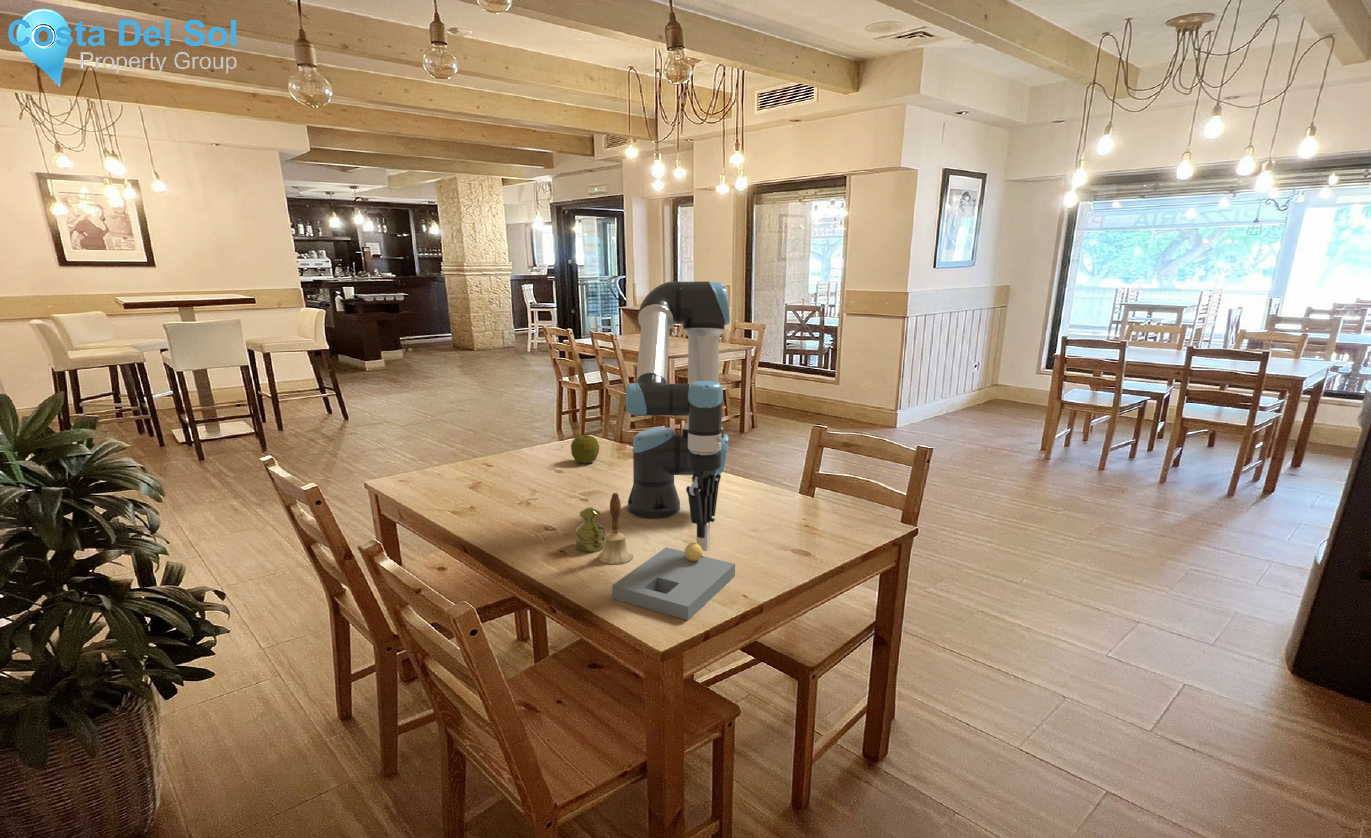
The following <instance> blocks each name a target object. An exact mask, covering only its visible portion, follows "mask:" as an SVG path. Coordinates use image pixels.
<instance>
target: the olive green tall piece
mask: <svg viewBox="0 0 1371 838" xmlns="http://www.w3.org/2000/svg"><path fill="white" fill-rule="evenodd" d="M600 514H601V512H600V510H598V509H597V508H595V507H590V506H588V507H586V508H584V509H582V510H581V511H579V516H580V518H583V520H584V521H583V522H582V523H581V524H580V525H579V526H577V527H576V529H575V531H574V534H575V539H574V541H575V548H576V549H577V550H578V551H581V552H586V553H593V552H597V551H598V552H599V551H601V550H603V549H604V547H605V542H606V536H605V534H606V528H605V527H604V526H603V525H601V524H600V523H599V522H597V520H596V519H597V518H598V517H599V516H600Z"/></svg>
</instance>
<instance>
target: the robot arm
mask: <svg viewBox="0 0 1371 838" xmlns="http://www.w3.org/2000/svg"><path fill="white" fill-rule="evenodd" d="M637 316H638V317H637V320H638V321H637V322H638V324H639V327H640V334H639V335H640V337H639V346H638V347H639V348H638V357H637V358H638V359H637V369H636V381H635V382H634V383H628V384H627V385H626V388H625V409H626V410H625V411H626V412H627V413H628V414H629V415H633V416H643V417H646V416H676V417H677V416H685V417H686V416H687V422H686V423H685V424H684V425H683V426H682V428H681V433H676V432H675V429H674V428H672V427H654V428H648V429H644V430H642V431H639V432H638V433H637V434H636V435H635V436H634V437H633V441H632V444H633V445H632V446H633V447H632V454H633V456H632V457H633V459H632V460H633V462H632V463H633V465H632V466H633V467H632V468H633V469H632V470H633V471H632V472H633V484H632V487H631V491H630V494H629V496H628V500H627V511H628V513H630V514H631V515H633V516H635V517H640V518H646V519H661V518H663V519H664V518H668V517H671V516H674V515H676V514H678V513H679V512H680V510H681V500H680V498H679V494H678V492H677V487H676V484H675V476H692V477H691V481H692V483H691V486H689V485H688V486H686V489H685V490H686V491H685V492H686V494H687V496H688V504H689V505H688V506H689V510H690V519H691V523H692V524H695V525H696V543H697V544H698V545H700V546H701V548H702V551H705V552H707V551H709V550H710V548H711V547H710V546H711V523H714V522H715V520H716V518H715V515H716V510H717V500H718V493H719V485H720V481H721V479H722V476H721V474H723V472H724V470H725V467H726V461H727V457H728V456H727V455H728V448H729V435H728V434H726V433H724V427H723V426H722V424H723V423H722V421H723V420H722V419H723V400H724V396H723V395H724V394H723V386H722V384H721V383H720V382H719V378H720V377H719V376H720V375H719V373H720V372H719V367H720V366H719V365H720V362H719V357H720V337H721V335H722V334H723V333H724V332H725V326H727V325H729V324H730V322H731V318H730V317H731V316H730V304H729V298H728V290H727V287H726V285H725V284H724V283H723V282H718V281H717V282H716V281H710V280H709V281H675V280H674V281H673V280H672V281H668V282H664V283H662V284H659V285H658V286H656V287H655V288H654V287H653V289H652V290H651V291H649V293H648V294H647V295H646V296H645V298H643V300H642V302H641V304H640V306H639V310H638V315H637ZM674 324H677V325H682V330H683V333H684V334H686V336H687V338H688V342H687V343H688V345H687V347H688V348H687V350H688V351H687V356H688V357H687V361H688V362H687V383H668V373H669V372H668V370H669V368H668V367H669V348H670V347H669V346H670V344H669V343H670V342H669V341H670V329H671V328H672V326H673V325H674Z"/></svg>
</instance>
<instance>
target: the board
mask: <svg viewBox="0 0 1371 838" xmlns="http://www.w3.org/2000/svg"><path fill="white" fill-rule="evenodd" d="M735 577H736V563H733V562H730V561H725V560H720V559H717V558H712V557H708V556H705V555H704V556H703V555H702V556H701V558H700V559H699V560H697V561H691V560H689V559H687V557H686V556H685V550H684V551H682V550H680V549H675V548H671V547H664V548H662V550H660V551H658V552H657V553H655V554H654V555H653V556H652V557H650V558H649V559H647V560H646V561H644V562H643V563H642V564H640V565H639V566H637V567H636V568H635V569H633V570H632V571H630V572H628V573H627V574H626V575H625V576H623V577H622V578H620V579H619V580H617V581H616V582H614V583H613V584H612V585H611V587H612V588H611V589H612V590H611V591H612V593H611V595H612V599H613V600H617V601H619V602H620V601H621V602H624V603H627V604H629V605H630V604H631V605H633V606H638V607H640V608H644V609H647V610H651V611H654V612H657V613H659V614H660V613H662V614H664V615H667V616H671V617H675V618H676V619H677V618H678V619H681V620H683V621H684V620H685V621H690V620H691V619H692V617H693V616H695V615H696V614H697V613H698V612H699V611H700V610H701V609H702V608H703V607H704V606H705V605H706V604H707V603H708V602H710V600H711V599H712V598H714V597H715V596H716V595H717V594H718V593H719V592H720V591H721V590H722V589H723V588H724V587H725V586H727V584H729V582H730V581H731V580H733V579H734V578H735ZM659 591H660V592H659Z"/></svg>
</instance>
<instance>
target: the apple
mask: <svg viewBox="0 0 1371 838" xmlns="http://www.w3.org/2000/svg"><path fill="white" fill-rule="evenodd" d="M570 444H571V445H570V450H571V456H572V458H573V459H574V460H575V462H578V463H580V464H585V463H586V464H590V463H592V462H595V461H596V460H597V457H598V455H599V452H600V444H599V441H598V440H597V438H595V436H592V435H589V434H588V435H587V434H586V433H585V432H584V434H581V435H577V436H576V437H575V438H574V439H573V440H572V442H571V443H570Z"/></svg>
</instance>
